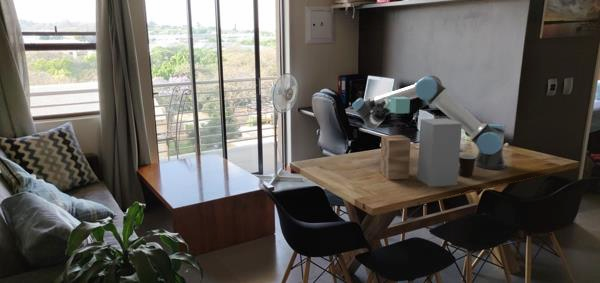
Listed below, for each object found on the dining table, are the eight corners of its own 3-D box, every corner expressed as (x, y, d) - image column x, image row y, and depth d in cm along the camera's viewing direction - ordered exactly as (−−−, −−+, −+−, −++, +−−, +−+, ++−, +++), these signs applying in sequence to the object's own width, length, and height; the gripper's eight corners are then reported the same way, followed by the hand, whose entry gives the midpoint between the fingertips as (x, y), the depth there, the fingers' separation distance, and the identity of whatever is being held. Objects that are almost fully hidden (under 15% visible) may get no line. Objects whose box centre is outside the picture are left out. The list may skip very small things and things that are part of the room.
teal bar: (380, 107, 235) (381, 93, 233) (393, 106, 236) (393, 93, 234) (395, 113, 215) (396, 99, 213) (409, 113, 216) (410, 98, 214)
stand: (417, 178, 225) (420, 119, 219) (443, 176, 228) (447, 118, 221) (429, 186, 212) (433, 124, 205) (457, 185, 214) (461, 123, 207)
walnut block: (380, 173, 234) (381, 135, 229) (400, 171, 236) (401, 134, 231) (387, 179, 223) (389, 140, 219) (408, 178, 225) (410, 139, 221)
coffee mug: (472, 178, 223) (474, 159, 221) (454, 176, 228) (456, 157, 226) (477, 173, 233) (478, 154, 231) (460, 170, 237) (461, 152, 235)
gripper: (393, 121, 249) (409, 106, 227) (364, 122, 247) (377, 107, 224) (392, 109, 251) (407, 92, 229) (362, 110, 249) (375, 93, 227)
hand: (392, 100), depth 227 cm, fingers closed on teal bar, 4 cm apart
